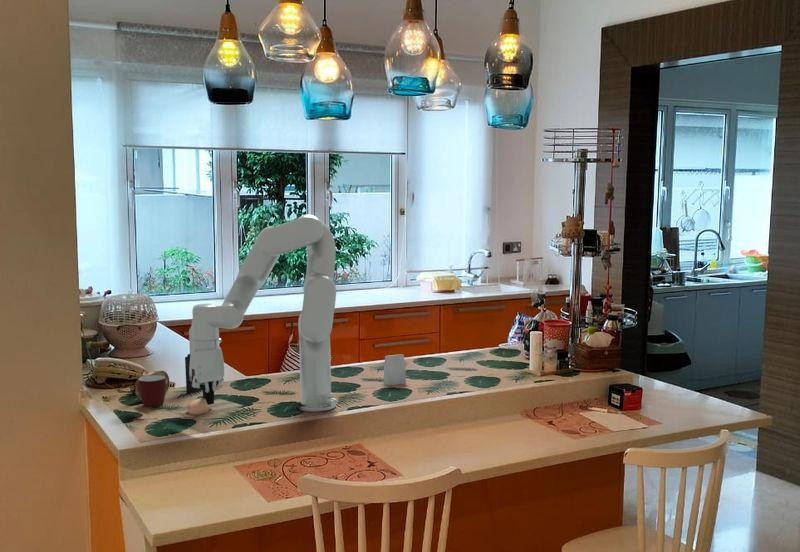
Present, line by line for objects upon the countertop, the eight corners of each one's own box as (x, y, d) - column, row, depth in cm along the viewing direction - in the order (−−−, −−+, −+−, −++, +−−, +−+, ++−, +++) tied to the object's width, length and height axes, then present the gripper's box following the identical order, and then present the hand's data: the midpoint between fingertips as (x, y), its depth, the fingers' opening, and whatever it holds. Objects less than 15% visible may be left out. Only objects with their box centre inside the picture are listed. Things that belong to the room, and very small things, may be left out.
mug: (138, 405, 249) (136, 375, 248) (164, 403, 252) (163, 372, 251) (141, 414, 239) (139, 382, 238) (168, 411, 242) (167, 379, 241)
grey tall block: (405, 383, 274) (405, 355, 273) (387, 385, 272) (387, 357, 271) (401, 381, 278) (401, 353, 276) (383, 382, 275) (383, 354, 274)
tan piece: (244, 410, 242) (244, 405, 242) (194, 423, 229) (194, 418, 229) (219, 403, 251) (219, 398, 251) (169, 415, 238) (169, 410, 237)
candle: (185, 395, 261) (181, 321, 259) (194, 391, 266) (191, 318, 263) (198, 396, 260) (195, 321, 257) (206, 392, 264) (204, 319, 262)
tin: (141, 404, 251) (140, 378, 250) (133, 403, 252) (132, 377, 251) (170, 392, 265) (169, 368, 264) (163, 391, 266) (161, 367, 265)
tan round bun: (213, 408, 237) (209, 399, 236) (198, 419, 233) (194, 410, 232) (201, 405, 241) (197, 397, 240) (186, 416, 237) (182, 407, 236)
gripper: (219, 339, 246) (221, 396, 248) (178, 346, 235) (180, 406, 237) (234, 342, 241) (236, 400, 243) (192, 350, 230) (194, 411, 232)
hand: (208, 403), depth 240 cm, fingers closed
